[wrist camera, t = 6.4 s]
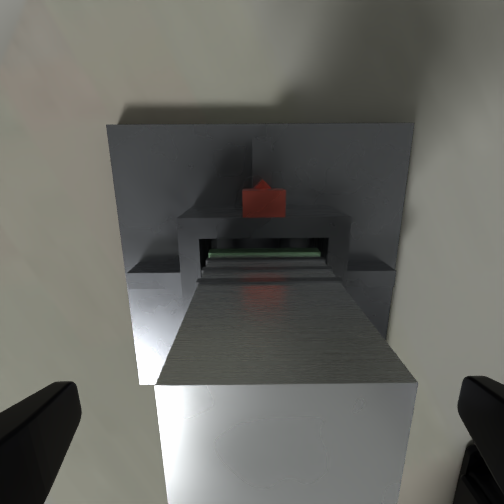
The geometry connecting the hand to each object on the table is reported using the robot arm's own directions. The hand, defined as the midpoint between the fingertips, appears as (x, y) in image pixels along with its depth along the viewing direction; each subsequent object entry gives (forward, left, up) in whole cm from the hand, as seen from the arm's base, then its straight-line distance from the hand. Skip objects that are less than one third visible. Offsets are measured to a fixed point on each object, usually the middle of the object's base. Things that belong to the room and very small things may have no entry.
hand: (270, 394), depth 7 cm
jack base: (0, 0, -10) cm, 10 cm away
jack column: (0, 0, -6) cm, 6 cm away
